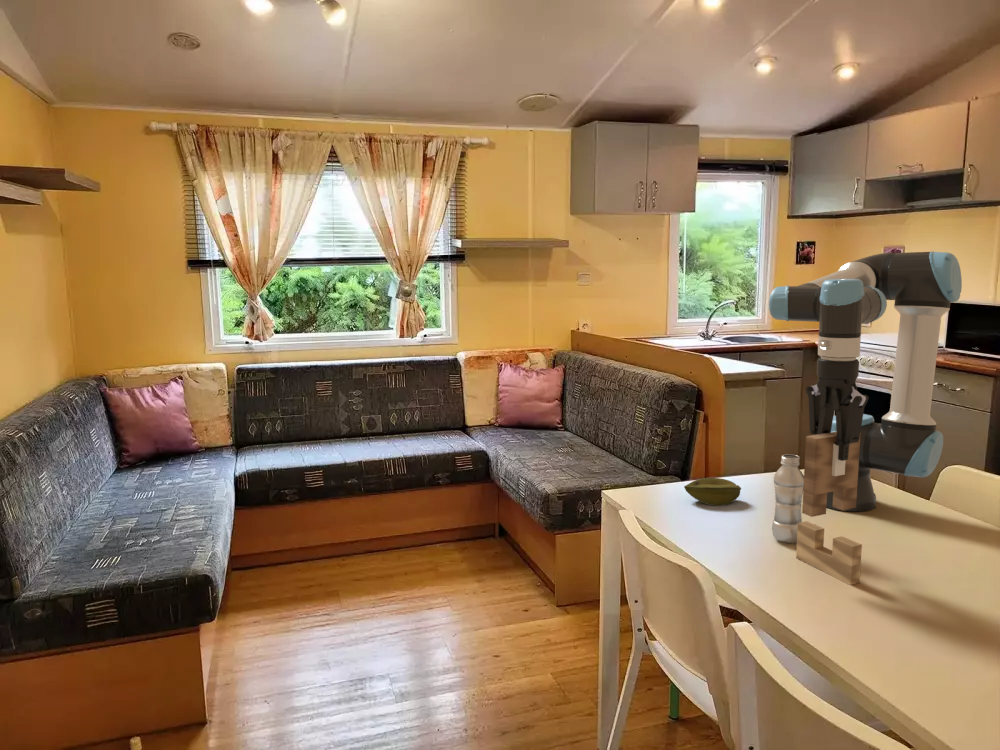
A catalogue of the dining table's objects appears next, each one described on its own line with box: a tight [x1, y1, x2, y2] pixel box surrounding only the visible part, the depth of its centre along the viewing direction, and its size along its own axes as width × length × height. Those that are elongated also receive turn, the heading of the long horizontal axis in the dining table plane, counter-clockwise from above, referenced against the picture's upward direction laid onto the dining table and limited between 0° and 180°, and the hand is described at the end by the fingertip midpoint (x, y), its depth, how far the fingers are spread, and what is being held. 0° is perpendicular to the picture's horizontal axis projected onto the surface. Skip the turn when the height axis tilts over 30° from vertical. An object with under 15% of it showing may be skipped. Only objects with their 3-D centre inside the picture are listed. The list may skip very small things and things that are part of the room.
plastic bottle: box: [771, 453, 804, 544], centre depth 160 cm, size 6×7×20 cm
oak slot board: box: [795, 520, 863, 586], centre depth 146 cm, size 2×14×8 cm, turn 22°
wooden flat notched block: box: [801, 432, 861, 518], centre depth 143 cm, size 12×2×16 cm, turn 113°
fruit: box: [683, 477, 742, 507], centre depth 188 cm, size 11×12×7 cm
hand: (831, 472), depth 143 cm, fingers closed on wooden flat notched block, 2 cm apart
